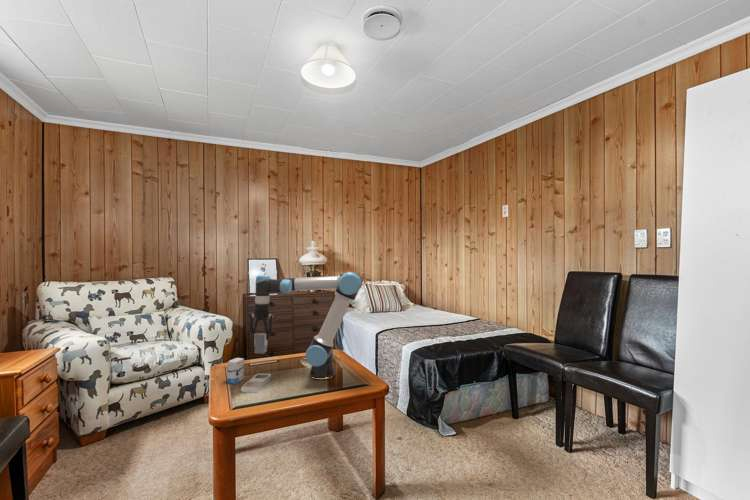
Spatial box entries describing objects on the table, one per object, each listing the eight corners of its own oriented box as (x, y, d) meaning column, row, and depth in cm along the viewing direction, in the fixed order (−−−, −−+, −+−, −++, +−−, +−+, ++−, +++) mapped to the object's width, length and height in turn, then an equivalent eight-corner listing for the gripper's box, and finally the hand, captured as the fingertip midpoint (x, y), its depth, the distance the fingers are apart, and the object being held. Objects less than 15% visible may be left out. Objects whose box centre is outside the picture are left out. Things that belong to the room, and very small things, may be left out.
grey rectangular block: (266, 351, 202) (267, 333, 202) (263, 353, 197) (263, 335, 197) (258, 351, 202) (258, 333, 203) (254, 353, 197) (254, 334, 198)
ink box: (235, 384, 195) (235, 362, 195) (226, 383, 196) (227, 361, 196) (243, 379, 203) (244, 358, 203) (235, 378, 204) (236, 357, 204)
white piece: (271, 378, 205) (271, 373, 205) (256, 392, 183) (256, 387, 183) (257, 378, 205) (257, 373, 205) (241, 391, 183) (241, 386, 183)
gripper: (280, 302, 204) (279, 344, 203) (249, 302, 205) (247, 343, 204) (275, 304, 196) (274, 347, 195) (243, 303, 197) (242, 346, 197)
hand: (260, 345), depth 200 cm, fingers closed on grey rectangular block, 5 cm apart
